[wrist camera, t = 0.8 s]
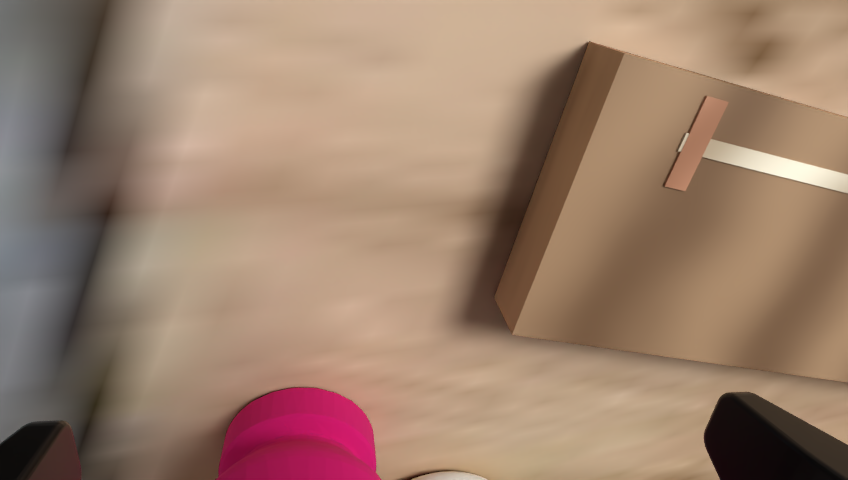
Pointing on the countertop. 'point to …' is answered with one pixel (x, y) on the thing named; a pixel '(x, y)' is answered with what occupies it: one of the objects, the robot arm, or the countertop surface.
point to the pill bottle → (450, 476)
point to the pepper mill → (299, 439)
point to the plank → (687, 223)
